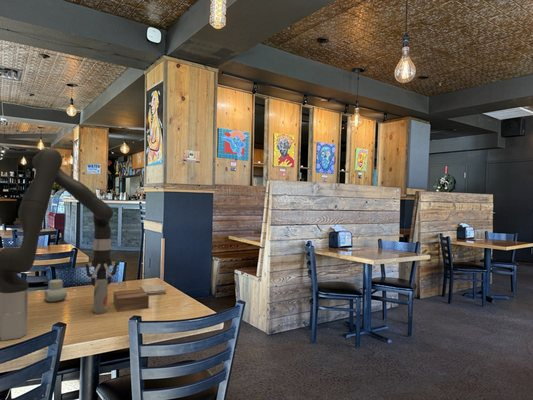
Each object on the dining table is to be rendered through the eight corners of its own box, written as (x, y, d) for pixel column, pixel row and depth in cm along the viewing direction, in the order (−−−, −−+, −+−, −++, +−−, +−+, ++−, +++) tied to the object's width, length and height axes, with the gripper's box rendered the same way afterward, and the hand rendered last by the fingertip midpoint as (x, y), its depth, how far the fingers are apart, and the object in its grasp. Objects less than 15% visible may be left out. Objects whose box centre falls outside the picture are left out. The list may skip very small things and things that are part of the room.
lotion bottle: (108, 310, 173) (110, 267, 173) (104, 314, 167) (105, 270, 167) (96, 309, 173) (97, 267, 172) (91, 313, 167) (92, 269, 167)
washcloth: (145, 297, 198) (145, 291, 198) (139, 289, 214) (139, 283, 214) (167, 294, 204) (167, 289, 204) (159, 287, 220) (160, 282, 220)
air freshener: (43, 299, 186) (43, 279, 186) (61, 296, 192) (61, 277, 192) (49, 304, 179) (49, 283, 178) (67, 301, 184) (68, 281, 184)
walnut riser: (148, 308, 178) (148, 295, 178) (117, 311, 171) (117, 299, 171) (142, 300, 190) (142, 289, 190) (113, 303, 183) (113, 291, 183)
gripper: (85, 250, 163) (84, 288, 163) (120, 248, 170) (118, 285, 170) (84, 247, 169) (83, 284, 170) (117, 246, 176) (116, 281, 177)
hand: (101, 284), depth 170 cm, fingers closed on lotion bottle, 5 cm apart
